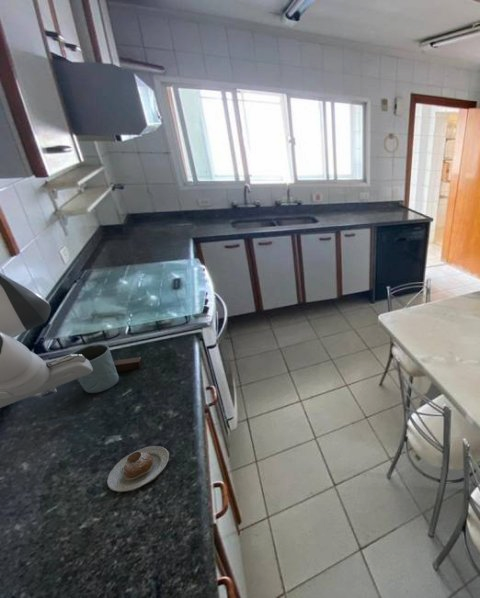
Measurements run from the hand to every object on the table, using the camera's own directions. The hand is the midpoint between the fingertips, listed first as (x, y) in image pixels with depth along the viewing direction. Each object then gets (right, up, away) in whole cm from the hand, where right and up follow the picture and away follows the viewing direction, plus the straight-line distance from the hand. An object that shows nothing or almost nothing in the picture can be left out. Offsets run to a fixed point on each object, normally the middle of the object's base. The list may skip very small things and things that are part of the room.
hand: (48, 392), depth 83 cm
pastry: (+27, -18, -4) cm, 32 cm away
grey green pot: (-6, -4, +21) cm, 22 cm away
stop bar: (-8, -1, +28) cm, 29 cm away
